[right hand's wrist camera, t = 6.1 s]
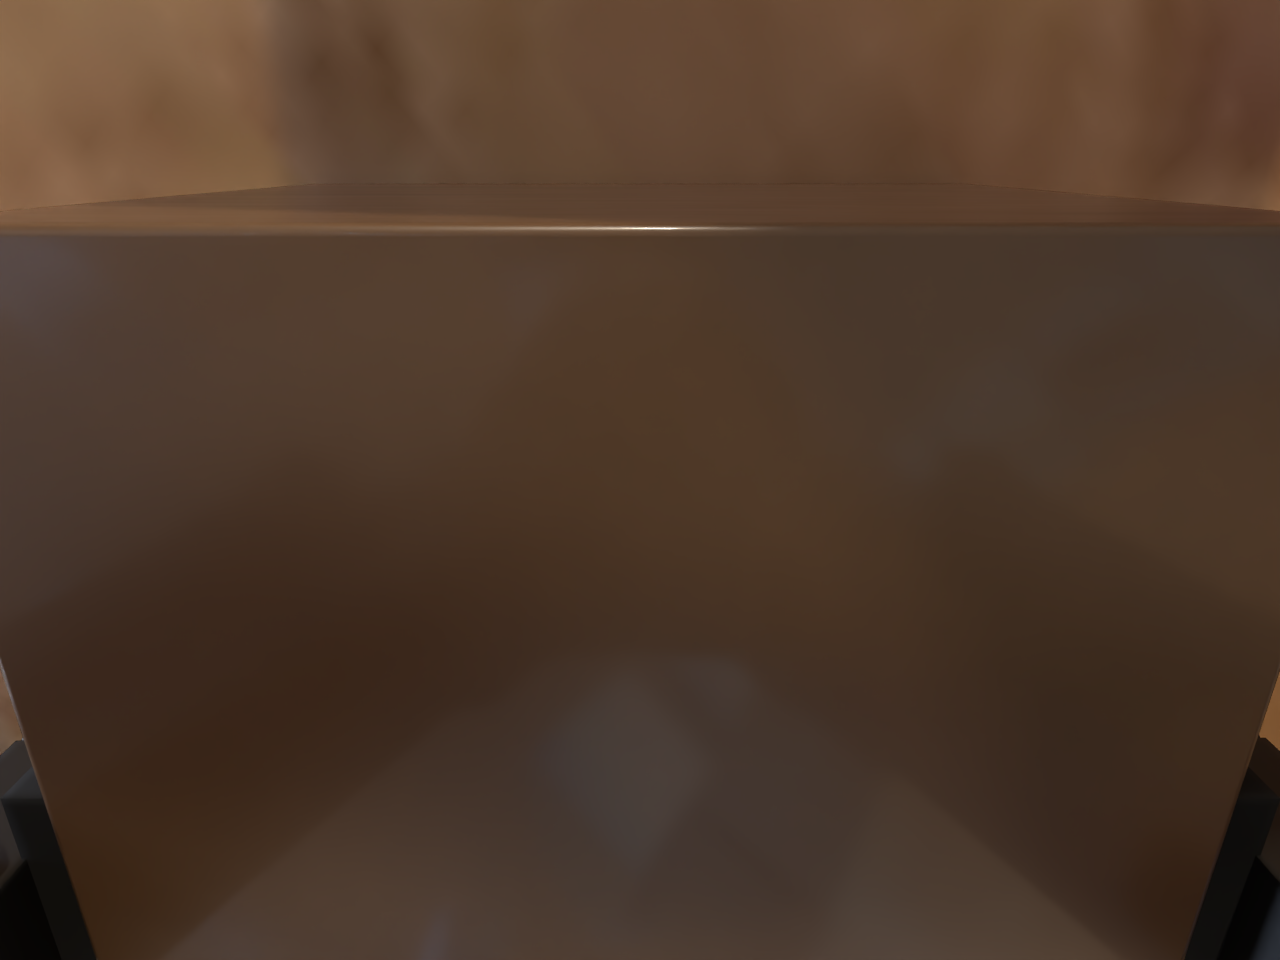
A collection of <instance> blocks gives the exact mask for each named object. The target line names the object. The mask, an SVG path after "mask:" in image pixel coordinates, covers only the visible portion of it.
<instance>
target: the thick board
mask: <svg viewBox="0 0 1280 960" xmlns="http://www.w3.org/2000/svg"><path fill="white" fill-rule="evenodd" d="M0 669H1V672H2V675H3V678H4V681H5V684H6V687H7V690H8V694H9V697H10V700H11V703H12V706H13V709H14V712H15V715H16V718H17V721H18V724H19V727H20V730H21V733H22V736H23V739H24V742H25V745H26V748H27V751H28V754H29V757H30V760H31V763H32V766H33V769H34V772H35V775H36V778H37V781H38V784H39V787H40V790H41V793H42V796H43V800H44V803H45V806H46V809H47V812H48V815H49V818H50V821H51V824H52V827H53V830H54V833H55V836H56V839H57V842H58V845H59V848H60V851H61V854H62V857H63V860H64V863H65V866H66V869H67V872H68V875H69V878H70V881H71V884H72V887H73V890H74V893H75V896H76V899H77V902H78V905H79V909H80V912H81V915H82V918H83V921H84V924H85V927H86V930H87V933H88V936H89V939H90V942H91V945H92V948H93V951H94V954H95V957H96V960H1184V959H1185V956H1186V953H1187V950H1188V947H1189V944H1190V941H1191V937H1192V934H1193V931H1194V928H1195V925H1196V922H1197V919H1198V916H1199V913H1200V910H1201V907H1202V904H1203V901H1204V898H1205V895H1206V892H1207V889H1208V886H1209V883H1210V880H1211V877H1212V874H1213V871H1214V868H1215V865H1216V862H1217V859H1218V856H1219V853H1220V850H1221V847H1222V844H1223V841H1224V838H1225V835H1226V832H1227V829H1228V826H1229V823H1230V820H1231V817H1232V814H1233V811H1234V808H1235V805H1236V802H1237V799H1238V795H1239V792H1240V789H1241V786H1242V783H1243V780H1244V777H1245V774H1246V771H1247V768H1248V765H1249V762H1250V759H1251V756H1252V753H1253V750H1254V747H1255V744H1256V741H1257V738H1258V735H1259V732H1260V729H1261V726H1262V723H1263V720H1264V717H1265V714H1266V711H1267V708H1268V705H1269V702H1270V699H1271V696H1272V693H1273V690H1274V687H1275V684H1276V681H1277V678H1278V675H1279V672H1280V211H1273V210H1261V209H1250V208H1238V207H1227V206H1215V205H1204V204H1192V203H1180V202H1169V201H1157V200H1146V199H1134V198H1123V197H1111V196H1100V195H1088V194H1077V193H1065V192H1054V191H1042V190H1031V189H1019V188H1008V187H996V186H985V185H973V184H306V185H294V186H283V187H271V188H260V189H248V190H237V191H225V192H214V193H202V194H191V195H179V196H168V197H156V198H145V199H133V200H122V201H110V202H99V203H87V204H76V205H64V206H53V207H41V208H30V209H18V210H7V211H0Z"/></svg>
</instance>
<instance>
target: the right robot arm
mask: <svg viewBox="0 0 1280 960" xmlns="http://www.w3.org/2000/svg"><path fill="white" fill-rule="evenodd" d="M0 960H96V957H95V954H94V951H93V948H92V945H91V942H90V939H89V936H88V933H87V930H86V927H85V924H84V921H83V918H82V915H81V912H80V909H79V905H78V902H77V899H76V896H75V893H74V890H73V887H72V884H71V881H70V878H69V875H68V872H67V869H66V866H65V863H64V860H63V857H62V854H61V851H60V848H59V845H58V842H57V839H56V836H55V833H54V830H53V827H52V824H51V821H50V818H49V815H48V812H47V809H46V806H45V803H44V800H43V796H42V793H41V790H40V787H39V784H38V781H37V778H36V775H35V772H34V769H33V766H32V763H31V760H30V757H29V754H28V751H27V748H26V745H25V742H24V739H23V738H22V740H21V741H15V742H14V743H13V744H12V745H11V746H10V747H9V748H8V749H7V750H6V751H5V752H4V753H3V754H1V755H0ZM1184 960H1280V751H1279V750H1278V749H1277V748H1276V747H1275V746H1274V745H1273V744H1272V743H1271V742H1269V741H1268V740H1267V739H1266V738H1260V736H1259V735H1258V738H1257V741H1256V744H1255V747H1254V750H1253V753H1252V756H1251V759H1250V762H1249V765H1248V768H1247V771H1246V774H1245V777H1244V780H1243V783H1242V786H1241V789H1240V792H1239V795H1238V799H1237V802H1236V805H1235V808H1234V811H1233V814H1232V817H1231V820H1230V823H1229V826H1228V829H1227V832H1226V835H1225V838H1224V841H1223V844H1222V847H1221V850H1220V853H1219V856H1218V859H1217V862H1216V865H1215V868H1214V871H1213V874H1212V877H1211V880H1210V883H1209V886H1208V889H1207V892H1206V895H1205V898H1204V901H1203V904H1202V907H1201V910H1200V913H1199V916H1198V919H1197V922H1196V925H1195V928H1194V931H1193V934H1192V937H1191V941H1190V944H1189V947H1188V950H1187V953H1186V956H1185V959H1184Z"/></svg>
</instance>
